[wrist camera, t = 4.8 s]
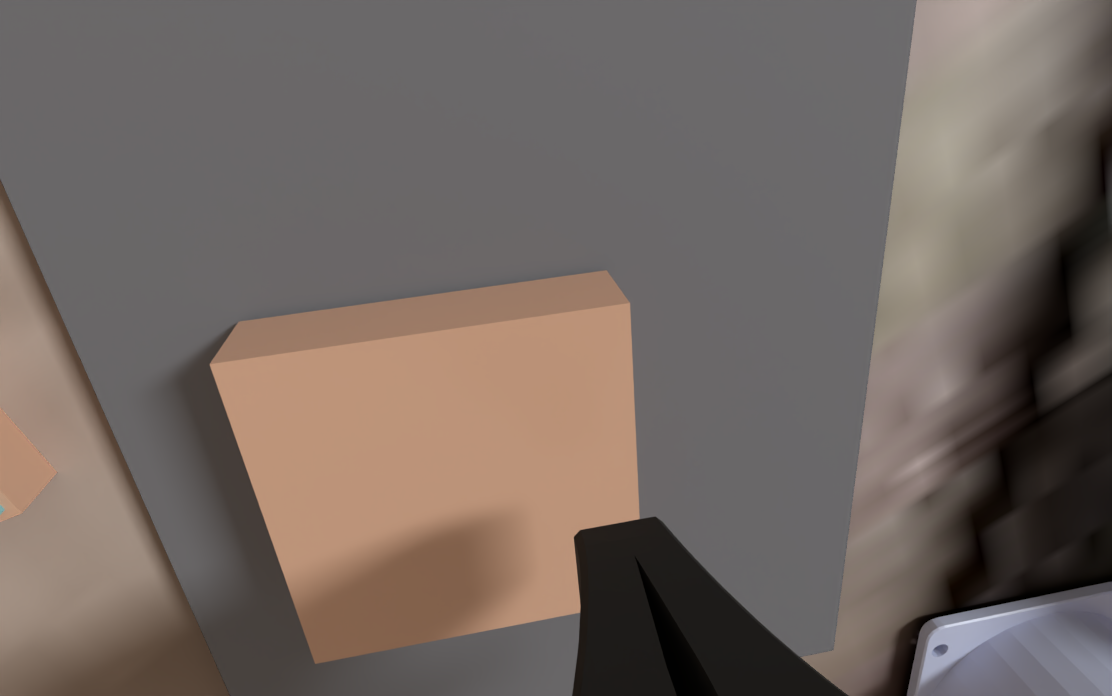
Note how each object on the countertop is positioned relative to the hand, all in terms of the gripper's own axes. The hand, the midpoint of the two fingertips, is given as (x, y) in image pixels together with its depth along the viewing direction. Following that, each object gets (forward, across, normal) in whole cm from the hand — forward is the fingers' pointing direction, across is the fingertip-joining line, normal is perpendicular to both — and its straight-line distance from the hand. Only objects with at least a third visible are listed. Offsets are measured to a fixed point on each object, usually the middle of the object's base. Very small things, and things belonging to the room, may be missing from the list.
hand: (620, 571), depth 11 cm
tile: (+3, -1, 0) cm, 4 cm away
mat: (+5, +1, -1) cm, 5 cm away
